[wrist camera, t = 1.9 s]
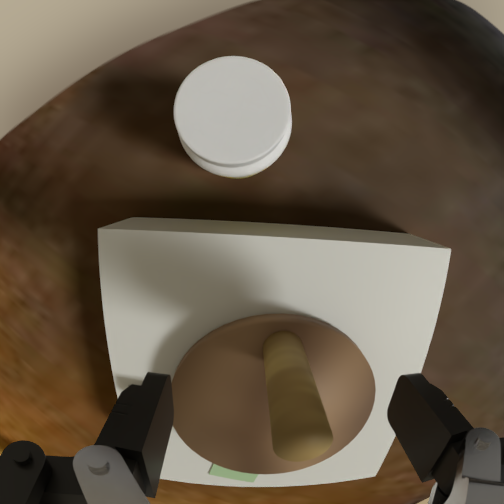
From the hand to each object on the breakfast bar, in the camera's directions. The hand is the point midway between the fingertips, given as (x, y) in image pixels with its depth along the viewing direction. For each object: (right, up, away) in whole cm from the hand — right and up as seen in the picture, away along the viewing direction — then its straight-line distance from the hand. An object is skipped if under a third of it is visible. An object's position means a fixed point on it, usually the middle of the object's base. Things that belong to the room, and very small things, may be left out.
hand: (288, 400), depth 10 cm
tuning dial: (-1, -3, +6) cm, 7 cm away
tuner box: (0, -2, +11) cm, 11 cm away
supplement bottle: (-2, +12, +8) cm, 14 cm away
